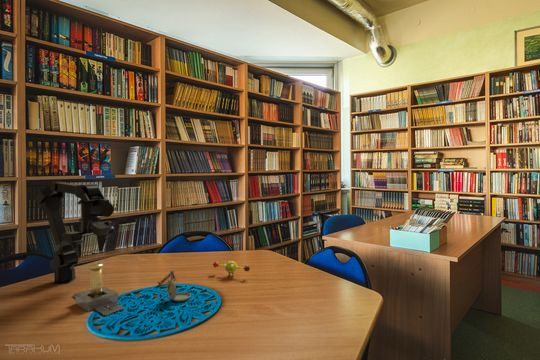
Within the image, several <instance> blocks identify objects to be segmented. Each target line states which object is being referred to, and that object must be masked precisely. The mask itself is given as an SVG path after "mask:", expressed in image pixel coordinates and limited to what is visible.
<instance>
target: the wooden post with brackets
mask: <svg viewBox="0 0 540 360" xmlns="http://www.w3.org/2000/svg"><path fill="white" fill-rule="evenodd" d="M170 273H171V274H172V276H173V281H174V280H176V281H177V278H176V275H175V270H170V272H169V274H167V275H165V277H163V279H161V280H160V281H157V284H158V286H161V287H162V286H163V284H164V282H166V281H167V280H171V276H170V275H171V274H170ZM169 278H170V279H169Z"/></svg>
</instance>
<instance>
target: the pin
mask: <svg viewBox="0 0 540 360" xmlns="http://www.w3.org/2000/svg"><path fill="white" fill-rule="evenodd" d="M103 267H104V262H95V263H91V264H89V265H88V270H89V272H90V273H89V277H90V279H89V281H90V284H89V285H90V290H91V298H95V297H98V296H101V295H102V287H103Z"/></svg>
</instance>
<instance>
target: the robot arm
mask: <svg viewBox="0 0 540 360" xmlns="http://www.w3.org/2000/svg"><path fill="white" fill-rule="evenodd" d="M65 194H70V195H74V196H75V197H76V198H78V199H79V201H78V202H77V203H76V204H77V205H80V217H79V218H78V221H79V222H81V228H79V229H78V230H79V231H68V232H67V230H66V226H65V222H64V220H63V219H64V218H63V216H62V213H61V210H60V209H61V207H62V204H63V202H62V200H63V198H65ZM35 202H36V203H37V205H38V208H39V210H41V211H42V212H44V213H45V215H46V218H47V221H48V225H49V228H50V230H51V231H50V232H51V234H52V237H53V240H54V244H55V247H54V250H53V258H52V259H51V260H50V262H49V267H50V269H51V270H53V271H54V272H53V273H54V275H53V277H54V280H53V281H52V283H51V284H68V283H71V282H72V281H73V280H75V279H76V278H77V276H76V268H75V265H78V262H79V259H80V258H82V244H83V242H84V239H83V237H88V236H93V235H95V236H96V240H97V247H98V251H99V252H101V253H102V252H103V249H104V247H105V243H106V242H107V239H108V238H109V237H110V236H112V234H114V233H115V228H114V226H113V222H112V221H110V220H108V221H105V222H102V221H101V217H104V218H105V217H106V218H109V217H111V216H112V214H113V213H114V211H115V207H114V205H113V204H112V202H110V199H109V198H108V199H107V198H106V197H105V195H104V193H103V192H102V190H101V188H100V187H99V185H98V184H96V183H91V184H76V183H70V182H65V181H53V182H50V184H49V185H47V186H46V187H45V188H43V189H42V190H40V191H39V193H38V194H37V195H36V196H35ZM113 215H114V214H113Z"/></svg>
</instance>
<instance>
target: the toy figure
mask: <svg viewBox="0 0 540 360" xmlns="http://www.w3.org/2000/svg"><path fill="white" fill-rule="evenodd" d="M212 266H213V267H214V268H218V267H219V266H220V268H224V269H225V271H226V272H227V273H228V275H227V276H228V277H231V278H232V277H235V275H234V273H235V272H236V271H237V270H242V269H243V270H244V272H249V271H250V270H251V269H250V268H251V267H250V266H249V265H244V267H242V266H238V264H237V263H236V262H235V261H234V260H229V261H226V263H224V264H220V263H219V262H218V261H214V262H213V264H212Z"/></svg>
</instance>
